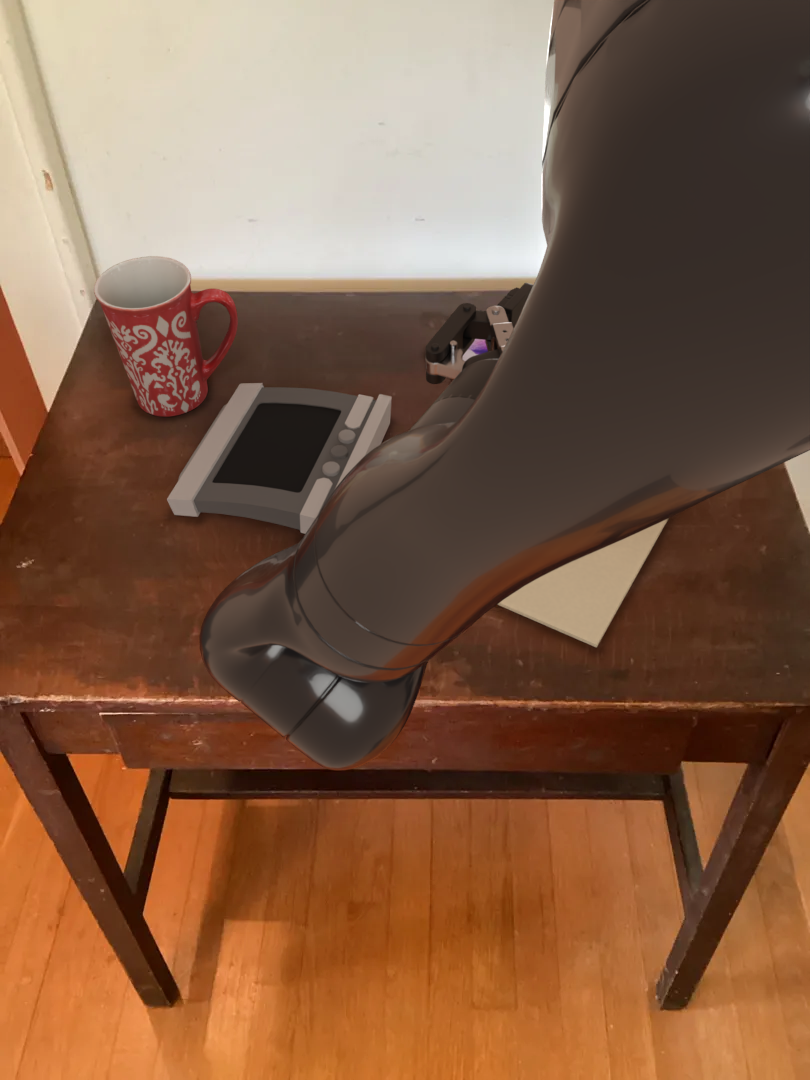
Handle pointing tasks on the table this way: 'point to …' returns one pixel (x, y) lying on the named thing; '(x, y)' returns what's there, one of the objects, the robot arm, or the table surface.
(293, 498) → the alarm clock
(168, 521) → the table surface
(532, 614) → the board
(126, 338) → the mug
